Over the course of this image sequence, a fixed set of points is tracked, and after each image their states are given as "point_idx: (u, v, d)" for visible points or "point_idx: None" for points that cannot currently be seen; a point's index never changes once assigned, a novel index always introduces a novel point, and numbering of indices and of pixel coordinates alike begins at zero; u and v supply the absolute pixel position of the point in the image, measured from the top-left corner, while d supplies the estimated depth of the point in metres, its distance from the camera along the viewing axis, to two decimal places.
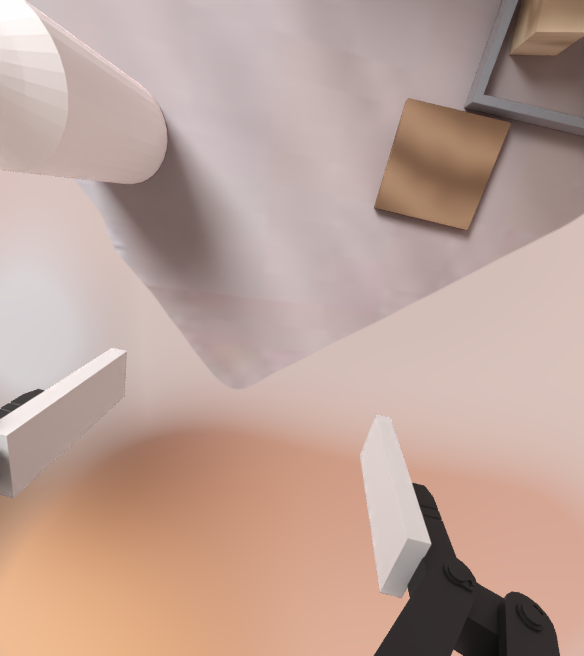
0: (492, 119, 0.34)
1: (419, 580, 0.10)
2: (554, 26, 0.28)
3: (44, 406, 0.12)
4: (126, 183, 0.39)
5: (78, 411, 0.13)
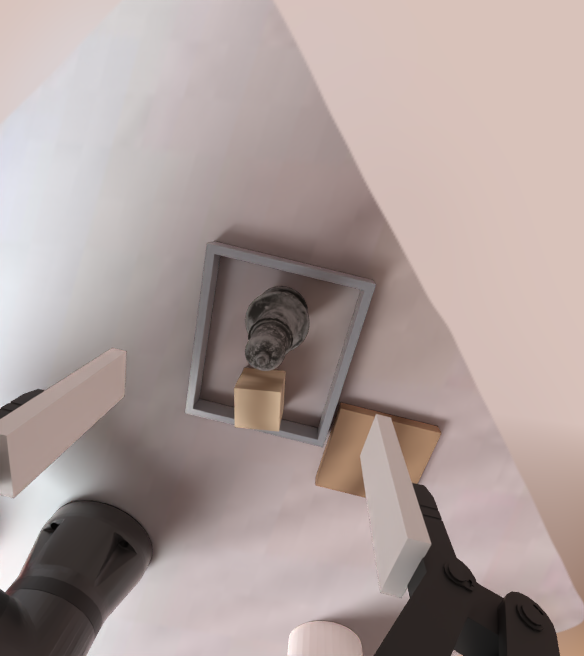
0: (336, 423, 0.35)
1: (419, 580, 0.10)
2: (275, 418, 0.32)
3: (44, 406, 0.12)
4: None
5: (78, 411, 0.13)
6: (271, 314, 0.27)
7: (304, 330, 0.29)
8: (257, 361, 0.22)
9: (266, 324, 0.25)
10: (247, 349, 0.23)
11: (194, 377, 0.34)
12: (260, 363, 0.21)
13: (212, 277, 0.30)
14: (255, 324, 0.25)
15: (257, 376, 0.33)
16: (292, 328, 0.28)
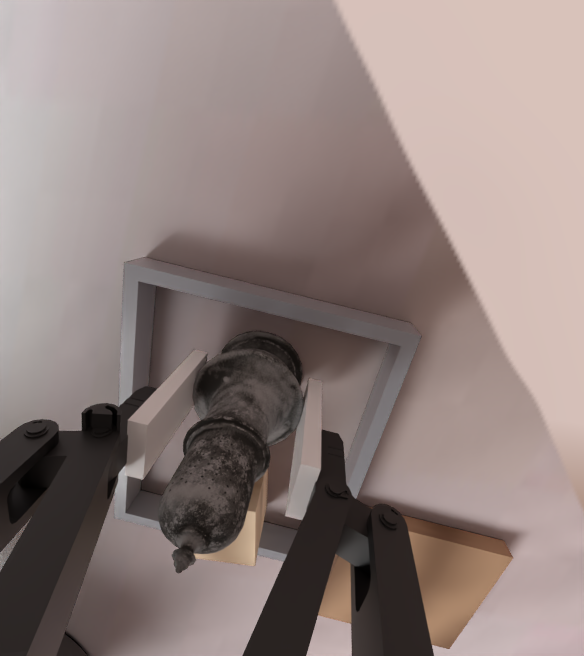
0: None
1: None
2: (248, 548, 0.19)
3: (164, 400, 0.13)
4: None
5: (179, 405, 0.15)
6: (231, 398, 0.14)
7: (294, 415, 0.17)
8: (174, 559, 0.09)
9: (214, 436, 0.12)
10: (159, 514, 0.10)
11: (123, 470, 0.21)
12: (178, 570, 0.09)
13: (140, 319, 0.18)
14: (194, 429, 0.13)
15: None
16: (271, 420, 0.15)
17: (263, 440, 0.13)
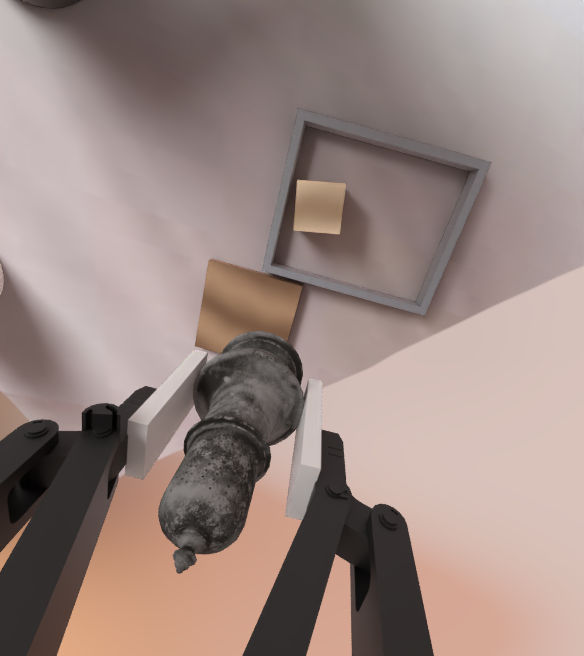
0: (285, 282, 0.36)
1: None
2: (308, 227, 0.31)
3: (164, 400, 0.13)
4: None
5: (179, 405, 0.15)
6: (231, 398, 0.14)
7: (295, 415, 0.17)
8: None
9: (215, 436, 0.12)
10: (160, 514, 0.10)
11: (345, 128, 0.30)
12: (179, 570, 0.09)
13: (454, 163, 0.30)
14: (195, 429, 0.13)
15: None
16: (272, 420, 0.15)
17: (264, 440, 0.13)
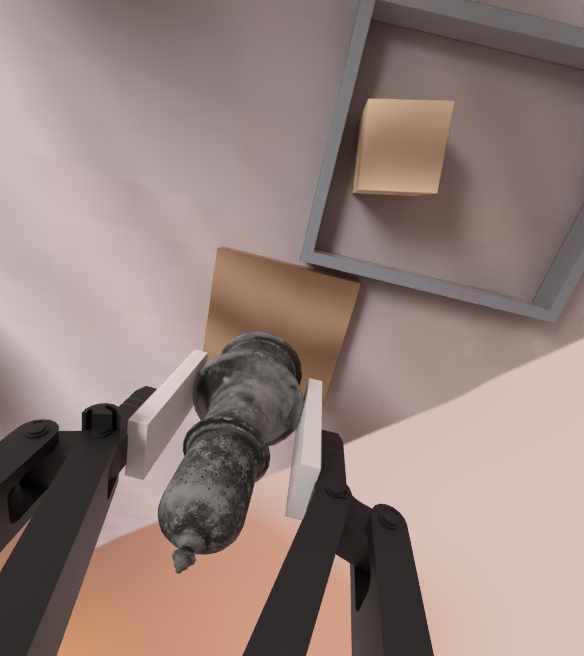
0: (335, 278, 0.24)
1: None
2: (384, 183, 0.19)
3: (164, 400, 0.13)
4: None
5: (179, 405, 0.15)
6: (231, 398, 0.14)
7: (294, 416, 0.17)
8: (174, 560, 0.09)
9: (214, 436, 0.12)
10: (159, 514, 0.10)
11: (447, 8, 0.17)
12: (178, 570, 0.09)
13: None
14: (194, 429, 0.13)
15: None
16: (271, 420, 0.15)
17: (263, 440, 0.13)
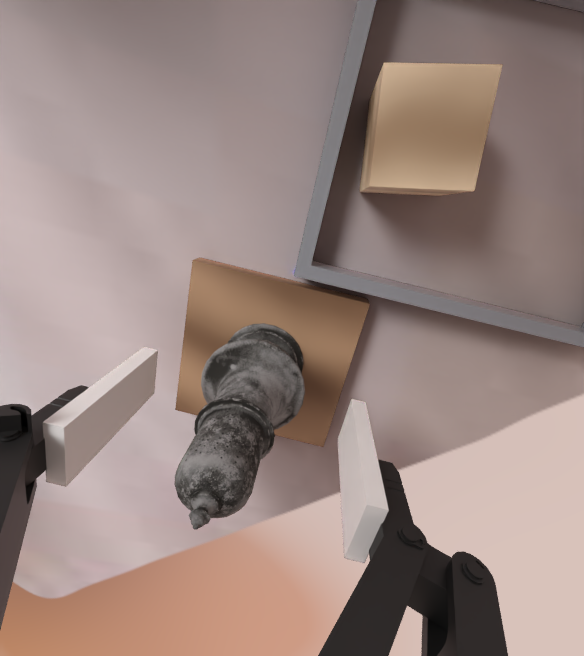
0: (337, 297, 0.19)
1: (377, 546, 0.11)
2: (404, 177, 0.14)
3: (92, 401, 0.12)
4: None
5: (118, 406, 0.14)
6: (238, 383, 0.16)
7: (296, 401, 0.18)
8: (191, 518, 0.10)
9: (223, 415, 0.13)
10: (177, 481, 0.11)
11: None
12: (195, 527, 0.10)
13: None
14: (205, 410, 0.14)
15: None
16: (275, 404, 0.16)
17: (268, 420, 0.14)
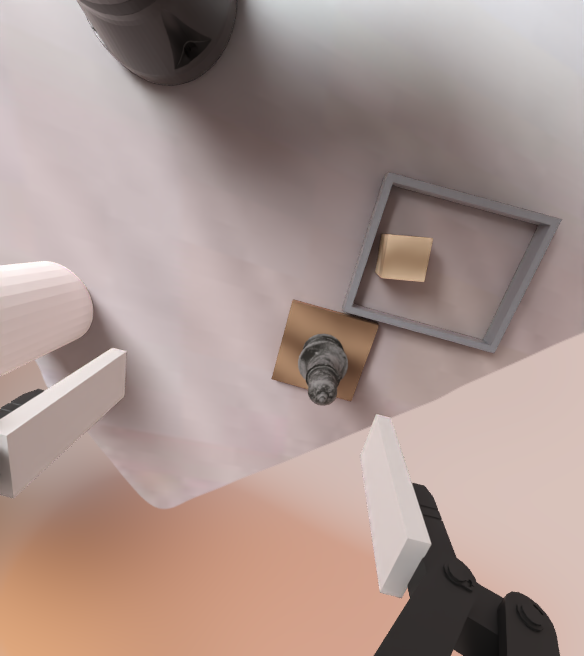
0: (363, 322, 0.39)
1: (419, 580, 0.10)
2: (395, 275, 0.34)
3: (44, 406, 0.12)
4: None
5: (78, 411, 0.13)
6: (321, 359, 0.35)
7: (344, 370, 0.38)
8: (319, 399, 0.30)
9: (321, 369, 0.33)
10: (311, 389, 0.31)
11: (430, 189, 0.34)
12: (322, 401, 0.30)
13: (526, 219, 0.34)
14: (312, 368, 0.34)
15: None
16: (336, 370, 0.36)
17: (338, 373, 0.34)
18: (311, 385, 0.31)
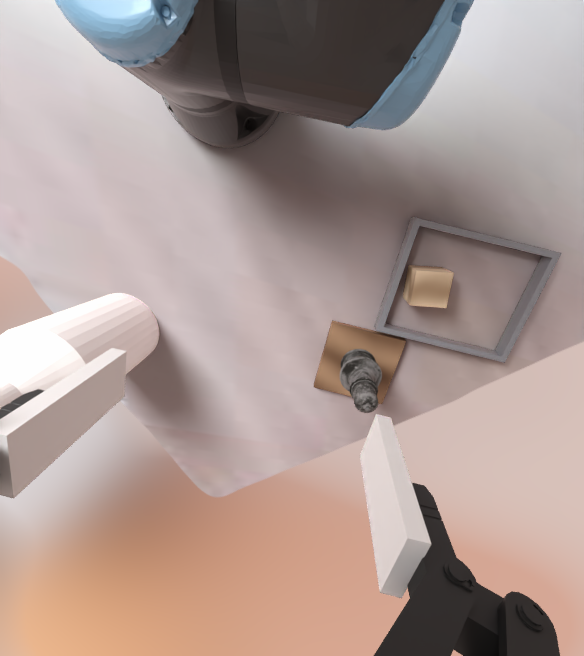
0: (392, 338, 0.47)
1: (419, 580, 0.10)
2: (422, 303, 0.41)
3: (44, 406, 0.12)
4: None
5: (78, 411, 0.13)
6: (361, 373, 0.43)
7: (378, 381, 0.45)
8: (365, 409, 0.38)
9: (363, 383, 0.41)
10: (357, 400, 0.38)
11: (450, 230, 0.40)
12: (368, 410, 0.37)
13: (532, 253, 0.41)
14: (355, 382, 0.41)
15: None
16: None
17: (376, 385, 0.41)
18: (357, 397, 0.39)
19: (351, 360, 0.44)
